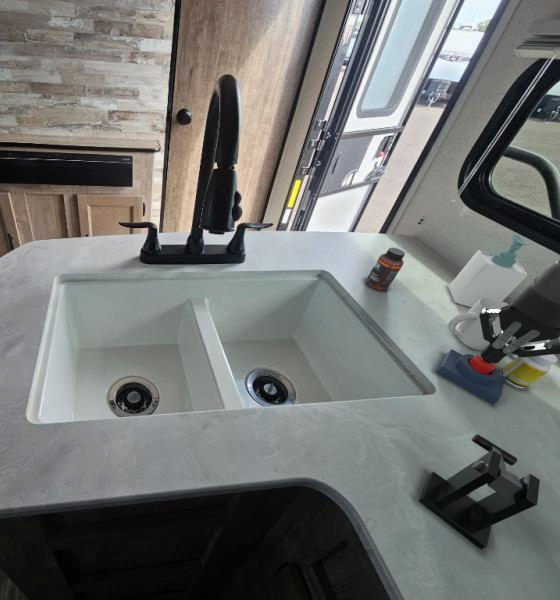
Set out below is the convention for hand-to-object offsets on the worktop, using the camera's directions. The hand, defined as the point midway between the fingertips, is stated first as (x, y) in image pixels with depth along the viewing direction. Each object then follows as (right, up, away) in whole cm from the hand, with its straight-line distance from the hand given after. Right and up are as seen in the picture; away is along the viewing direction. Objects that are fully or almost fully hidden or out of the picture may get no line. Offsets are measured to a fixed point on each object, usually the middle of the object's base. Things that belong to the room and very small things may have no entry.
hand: (486, 360), depth 66 cm
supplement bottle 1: (-3, +16, +29) cm, 33 cm away
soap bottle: (+22, +12, +27) cm, 37 cm away
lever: (-19, -12, -19) cm, 29 cm away
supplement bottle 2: (+10, -5, +5) cm, 12 cm away
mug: (+8, +2, +13) cm, 16 cm away
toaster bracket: (-22, -19, -17) cm, 34 cm away
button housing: (-1, -5, +4) cm, 6 cm away
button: (0, -2, +1) cm, 2 cm away
